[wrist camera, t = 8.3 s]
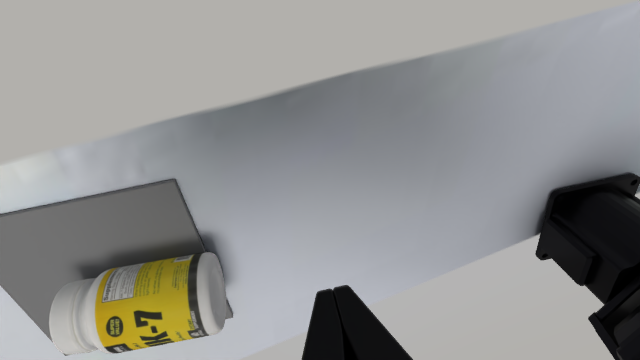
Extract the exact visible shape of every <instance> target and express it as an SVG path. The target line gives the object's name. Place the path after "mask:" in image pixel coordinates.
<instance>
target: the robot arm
mask: <svg viewBox="0 0 640 360" xmlns="http://www.w3.org/2000/svg"><path fill="white" fill-rule="evenodd" d="M639 184H640V177H639V176H637V175H635V174H628V175H623V176H618V177H614V178H609V179H605V180H600V181H596V182H591V183H587V184H582V185H578V186H573V187H569V188H564V189H559V190H556V191H554V192H553V193H552V194H551V196H550V199H549V203H548V207H547V211H546V215H545V219H544V223H543V226H542V230H541V234H540V238H539V242H538V246H537V250H536V256H537V257H538V258H539V259H540V260H546V259H551V258H552V259H553V260H554V261H555V262H556V263H557V264H558V265H559V266H560V267H561V268H562V269H563V270H564V271H565V272H566V273H567V274H568V275H569V276H570V277H571V278H572V279H573V280H574V281H575V282H576V283H577V284H579V285H580V286H584V285H585V286H586V287H587V288H588V289H589V290H590V291H591V292H592V293H593V294H594V295H595V296H596V297H597V298H598V299H599V300H600V301H601V302H602V303H603V304H604V306H603V307H602V308H601V309H600V310H599V311H597V312H596V313H593V314H592V315H591V316H590V317H589V318H588V319H589V321H590V322H591V324H592V325H593V327H594V328H595V330H596V332H597V334H598V335H599V337H600V338H601V340H602V341H603V342H604V344H605V345H606V347H607V348H608V350H609V351H610V353H611V354H612V356H613V357H614V359H615V360H640V199H638V198H637V197H635V193H636V191H637V189H638V186H639ZM302 360H413V359H412V358H411V357H410V356H409V354H408V353H407V352H406V351H405V350H404V349H403V348H402V346H401V345H400V344H399V343H398V342H397V341H396V339H395V338H394V337H393V336H392V335H391V334H390V333H389V331H388V330H387V329H386V328H385V327H384V326H383V324H382V323H381V322H380V321H379V320H378V319H377V318H376V316H375V315H374V314H373V313H372V312H371V311H370V310H369V308H368V307H367V306H366V305H365V304H364V303H363V301H362V300H361V299H360V298H359V297H358V296H357V294H356V293H355V292H354V291H353V290H352V289H351V288H350V287H349V286H348V285H343V286H339V287H335V288H334V289H333V290H332V289H326V290H321V291H318V292H317V294H316V298H315V302H314V306H313V311H312V315H311V320H310V324H309V329H308V333H307V338H306V342H305V347H304V351H303V356H302Z"/></svg>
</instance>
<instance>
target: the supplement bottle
mask: <svg viewBox="0 0 640 360" xmlns="http://www.w3.org/2000/svg"><path fill="white" fill-rule="evenodd" d="M225 316H226V291H225V283H224V277H223V273H222V269H221V266H220V263H219V261H218V258H217V256H216V255H215V254H213V253H211V252H206V253H201V254H194V255H188V256H182V257H176V258H170V259H164V260H159V261H153V262H147V263H141V264H136V265H130V266H123V267H118V268H112V269H109V270H106V271H105V272H103V273H101V274H100V275H99V276H98V277H97V278H90V279H85V280H80V281H75V282H71V283H68V284H66V285H64V286H63V287H62V288H61V289H60V290H59V291H58V293H57V294H56V296H55V298H54V300H53V303H52V306H51V310H50V316H49V329H50V335H51V338H52V341H53V343H54V345H55V347H56V348H57V349H58V350H59V351H60V352H62V353H64V354H68V355H71V354H78V353H89V352H92V351H94V350H97V349H99V350H101V351H102V352H105V353H109V354H113V353H122V352H126V351H131V350H136V349H142V348H147V347H152V346H158V345H163V344H167V343H173V342H178V341H183V340H188V339H193V338H199V337H204V336H209V335H214V334H217V333H219V332H220V331H221V330H222V329H223V327H224V323H225Z"/></svg>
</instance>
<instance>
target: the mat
mask: <svg viewBox="0 0 640 360" xmlns="http://www.w3.org/2000/svg"><path fill="white" fill-rule="evenodd" d="M201 253H206V250H205V248H204V245H203V243H202V241H201V238H200V236H199V234H198V232H197V229H196V227H195V225H194V222H193V220H192V218H191V215H190V213H189V211H188V208H187V206H186V204H185V201H184V199H183V197H182V194H181V192H180V190H179V187H178V185H177V183H176V180H175V179H172V180H167V181H162V182H157V183H153V184H148V185H143V186H138V187H133V188H128V189H123V190H118V191H113V192H108V193H104V194H99V195H94V196H89V197H84V198H79V199H74V200H69V201H64V202H59V203H55V204H50V205H45V206H40V207H35V208H30V209H25V210H20V211H15V212H10V213H6V214H1V215H0V285H1V286H2V288H3V289H4V290H5V291H6V292H7V293H8V294H9V295H10V296H11V297H12V298H13V300H14V301H15V302H16V303H17V304H18V305H19V306H20V307H21V308H22V309H23V310H24V311H25V313H26V314H27V315H28V316H29V317H30V318H31V319H32V320H33V321H34V322H35V323H36V324H37V326H38V327H39V328H40V329H41V330H42V331H43V332H44V333H45V334H46V335H47V336H48V338H49V339H50V340H51V341H52V338H51V335H50V329H49V316H50V310H51V306H52V303H53V300H54V298H55V296H56V294H57V293H58V291H59V290H60V289H61V288H62V287H63V286H64V285H66V284H68V283H71V282H75V281H80V280H85V279H90V278H97V277H98V276H99V275H100V274H101V273H103V272H105V271H106V270H109V269H112V268H118V267H123V266H130V265H136V264H141V263H147V262H153V261H159V260H164V259H170V258H176V257H182V256H188V255H194V254H201ZM228 318H233V313H232V311H231V308H230V306H229V304H228V301H227V299H226V316H225V319H228ZM52 342H53V341H52ZM63 354H64V353H63ZM64 355H65V356H67V355H68V354H64Z"/></svg>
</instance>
